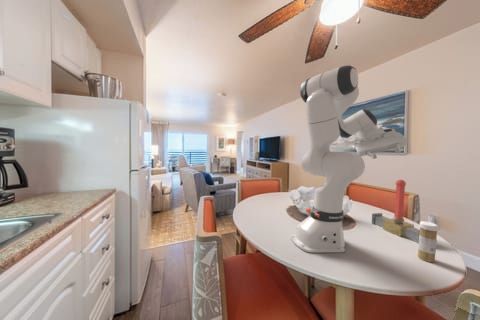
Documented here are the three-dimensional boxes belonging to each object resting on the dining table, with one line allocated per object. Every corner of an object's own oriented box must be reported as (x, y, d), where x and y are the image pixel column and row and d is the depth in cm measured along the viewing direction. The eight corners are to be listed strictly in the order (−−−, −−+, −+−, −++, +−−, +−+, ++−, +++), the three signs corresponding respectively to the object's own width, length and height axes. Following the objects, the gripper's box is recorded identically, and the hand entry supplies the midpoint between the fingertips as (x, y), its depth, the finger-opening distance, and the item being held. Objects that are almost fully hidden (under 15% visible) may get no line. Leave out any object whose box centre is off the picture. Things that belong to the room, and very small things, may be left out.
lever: (398, 223, 84) (401, 180, 83) (390, 220, 87) (393, 179, 86) (405, 222, 85) (408, 180, 84) (397, 219, 88) (400, 179, 87)
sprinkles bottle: (428, 256, 67) (431, 221, 66) (439, 263, 62) (442, 226, 62) (414, 254, 68) (416, 220, 67) (423, 261, 63) (426, 225, 63)
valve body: (418, 244, 75) (419, 232, 74) (369, 223, 96) (370, 213, 96) (432, 243, 76) (433, 230, 76) (381, 222, 98) (382, 212, 98)
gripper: (351, 140, 96) (360, 156, 86) (397, 127, 88) (414, 143, 78) (352, 148, 100) (362, 165, 89) (397, 137, 92) (413, 153, 81)
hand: (386, 154), depth 83 cm, fingers open, 8 cm apart
